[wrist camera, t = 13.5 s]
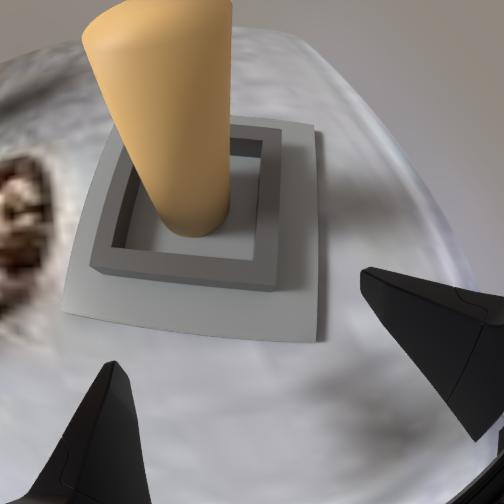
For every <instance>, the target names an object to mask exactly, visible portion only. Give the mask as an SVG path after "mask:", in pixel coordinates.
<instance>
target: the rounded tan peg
mask: <svg viewBox="0 0 504 504" xmlns="http://www.w3.org/2000/svg"><path fill="white" fill-rule="evenodd" d="M231 34H232V3H231V1H230V0H127V1H125V2H123V3H120V4H118V5H116V6H114V7H113V8H111V9H109V10H107V11H105V12H104V13H103V14H101V15H100V16H98V17H97V18H96V19H94V21H92V22H91V23H90V24H89V26H88V27H87V28H86V29H85V31H84V33H83V35H82V42H83V45H84V48H85V51H86V53H87V56H88V59H89V61H90V64H91V67H92V69H93V72H94V74H95V77H96V79H97V82H98V84H99V87H100V89H101V92H102V94H103V97H104V99H105V101H106V104H107V106H108V108H109V111H110V113H111V115H112V118H113V120H114V122H115V125H116V127H117V129H118V131H119V134H120V136H121V138H122V140H123V142H124V145H125V147H126V149H127V151H128V153H129V155H130V158H131V160H132V162H133V164H134V166H135V168H136V170H137V172H138V174H139V176H140V178H141V181H142V183H143V185H144V187H145V189H146V191H147V193H148V195H149V197H150V199H151V201H152V203H153V205H154V207H155V209H156V210H157V212H158V214H159V216H160V218H161V220H162V222H163V224H164V225H165V226H166V227H167V228H168V229H169V230H170V231H171V232H173V233H174V234H176V235H179V236H182V237H188V238H195V237H201V236H205V235H207V234H210V233H211V232H213V231H215V230H216V229H217V228H218V227H220V226H221V224H222V223H223V222H224V220H225V219H226V217H227V215H228V212H229V208H230V77H231Z"/></svg>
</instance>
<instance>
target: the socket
mask: <svg viewBox="0 0 504 504" xmlns="http://www.w3.org/2000/svg"><path fill="white" fill-rule="evenodd" d="M317 302H318V195H317V169H316V150H315V133H314V125H310V124H304V123H297V122H290V121H282V120H274V119H265V118H255V117H244V116H231V115H230V208H229V212H228V215H227V217H226V219H225V220H224V222H223V223H222V224H221V226H220V227H218V228H217V229H216V230H215V231H213V232H211V233H210V234H207V235H205V236H201V237H195V238H188V237H182V236H179V235H176V234H174V233H173V232H171V231H170V230H169V229H168V228H167V227H166V226H165V225H164V224H163V222H162V220H161V218H160V216H159V214H158V212H157V210H156V209H155V207H154V205H153V203H152V201H151V199H150V197H149V195H148V193H147V191H146V189H145V187H144V185H143V183H142V181H141V178H140V176H139V174H138V172H137V170H136V168H135V166H134V164H133V162H132V160H131V158H130V155H129V153H128V151H127V149H126V147H125V145H124V142H123V140H122V138H121V136H120V134H119V131H118V129H117V127H116V125H115V123H114V126H113V128H112V130H111V133H110V135H109V137H108V140H107V142H106V145H105V147H104V150H103V152H102V155H101V157H100V160H99V163H98V165H97V168H96V171H95V173H94V176H93V179H92V182H91V185H90V188H89V191H88V194H87V197H86V200H85V204H84V207H83V210H82V214H81V217H80V221H79V224H78V228H77V232H76V236H75V240H74V244H73V248H72V252H71V256H70V261H69V266H68V270H67V275H66V281H65V286H64V292H63V298H62V304H61V311H62V312H65V313H70V314H74V315H79V316H84V317H88V318H93V319H98V320H104V321H109V322H114V323H120V324H126V325H132V326H138V327H144V328H151V329H157V330H164V331H172V332H179V333H187V334H196V335H205V336H214V337H225V338H236V339H248V340H262V341H279V342H301V343H316V329H317Z"/></svg>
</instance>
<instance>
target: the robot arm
mask: <svg viewBox="0 0 504 504" xmlns="http://www.w3.org/2000/svg"><path fill="white" fill-rule="evenodd" d="M360 290H361V293H362V295H363V297H364V298H365V300H366V301H367V302H368V304H369V305H370V307H371V308H372V310H373V311H374V313H375V314H376V316H377V317H378V319H379V320H380V322H381V323H382V324H383V326H384V327H385V328H386V329H387V330H388V332H389V333H390V334H391V335H392V336H393V338H394V339H395V340H396V341H397V342H398V344H399V345H400V346H401V347H402V348H403V350H404V351H405V352H406V353H407V354H408V356H409V357H410V358H411V359H412V361H413V362H414V363H415V364H416V366H417V367H418V368H419V369H420V371H421V372H422V373H423V374H424V376H425V377H426V378H427V379H428V381H429V382H430V383H431V384H432V386H433V387H434V388H435V390H436V391H437V392H438V393H439V395H440V396H441V397H442V399H443V400H444V401H445V403H446V404H447V405H448V407H449V408H450V409H451V411H452V412H453V413H454V415H455V416H456V417H457V419H458V420H459V421H460V423H461V424H462V425H463V427H464V428H465V430H466V431H467V432H468V434H469V435H470V436H471V438H472V439H473V440H474V442H477V441H478V440H479V439H480V438H481V437H482V436H483V435H484V434H485V433H486V432H487V431H488V430H489V429H490V428H491V427H492V426H493V424H494V423H495V422H496V421H497V420H498V419H499V418H500V417H501V416H502V415H503V416H504V297H502V296H497V295H491V294H485V293H480V292H474V291H470V290H465V289H461V288H457V287H454V288H453V286H449V285H445V284H441V283H437V282H433V281H429V280H424V279H420V278H416V277H412V276H408V275H404V274H400V273H395V272H391V271H387V270H383V269H379V268H374V267H368V268H366V269H363V270H362V271H361V273H360ZM6 504H152V503H151V499H150V494H149V489H148V484H147V479H146V474H145V468H144V462H143V456H142V449H141V442H140V435H139V427H138V419H137V414H136V409H135V405H134V400H133V395H132V390H131V385H130V380H129V378H128V376H127V374H126V373H125V371H124V370H123V369H122V367H121V366H120V365H119V363H118V362H117V361H110V362H107V363H105V364H104V365H103V367H102V369H101V370H100V372H99V373H98V375H97V377H96V378H95V380H94V382H93V383H92V385H91V387H90V388H89V390H88V392H87V393H86V395H85V397H84V398H83V400H82V402H81V403H80V405H79V407H78V409H77V410H76V412H75V414H74V416H73V417H72V419H71V421H70V423H69V424H68V426H67V428H66V430H65V432H64V433H63V435H62V438H61V439H60V441H59V442H58V444H57V446H56V448H55V450H54V451H53V453H52V455H51V457H50V458H49V460H48V462H47V463H46V465H45V467H44V468H43V470H42V471H41V473H40V474H39V476H38V478H37V479H36V481H35V482H34V484H33V486H32V487H31V489H30V490H29V491H28V493H27V494H26V495H24V496H23V497H21V498H20V499H17V500H14V501H12V502H9V503H6ZM446 504H504V426H503V428H502V429H501V430H500V431H499V440H498V453H497V457H496V458H495V459H494V460H493V461H492V462H491V463H490V464H489V465H488V466H487V467H486V468H485V469H484V470H483V471H482V472H481V473H480V474H479V475H478V476H477V477H476V478H475V479H474V480H473V481H472V482H471V483H470V484H469V485H467V486H466V487H465V488H464V489H463V490H462V491H461V492H459V493H458V494H457V495H456V496H455V497H454V498H452V499H451V500H450V501H449V502H447V503H446Z"/></svg>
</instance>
